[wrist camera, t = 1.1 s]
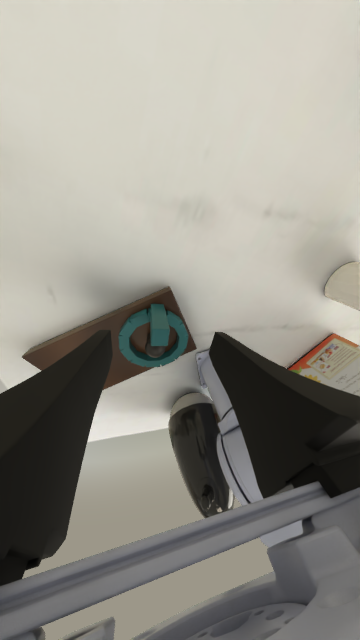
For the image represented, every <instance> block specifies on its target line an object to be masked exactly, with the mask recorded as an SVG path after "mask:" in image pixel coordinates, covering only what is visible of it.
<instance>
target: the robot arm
mask: <svg viewBox="0 0 360 640" xmlns="http://www.w3.org/2000/svg"><path fill="white" fill-rule="evenodd" d="M112 357H113V351H112V340H111V330H99V331H97V332H96V333H95V334H94V335H92V336H91V337H90V338H88V339H87V340H86V341H85V342H83V343H82V344H81V345H79V346H78V347H77V348H75V349H74V350H73V351H71V352H70V353H68V354H67V355H65V356H64V357H62V358H61V359H59V360H58V361H57V362H55V363H54V364H52V365H50V366H49V367H47V368H46V369H44V370H42V371H41V372H39V373H37V374H36V375H34V376H32V377H31V378H29V379H27V380H25V381H24V382H22V383H20V384H18V385H16V386H14V387H12V388H10V389H8V390H7V391H5V392H3V393H1V394H0V640H45V632H44V630H43V629H42V627H40V626H43V625H45V624H48V623H50V622H53V621H55V620H58V619H60V618H63V617H65V616H68V615H70V614H72V613H75V612H77V611H80V610H82V609H85V608H87V607H90V606H92V605H94V604H97V603H99V602H102V601H104V600H106V599H109V598H112V597H114V596H116V595H119V594H121V593H124V592H126V591H129V590H131V589H134V588H136V587H138V586H141V585H143V584H146V583H148V582H151V581H153V580H155V579H158V578H160V577H163V576H165V575H168V574H170V573H173V572H175V571H178V570H180V569H182V568H185V567H187V566H190V565H192V564H195V563H197V562H200V561H202V560H204V559H207V558H209V557H212V556H214V555H217V554H219V553H221V552H224V551H227V550H229V549H231V548H234V547H236V546H239V545H241V544H244V543H246V542H248V541H251V540H253V539H256V538H258V537H260V539H261V541H262V542H263V543H264V544H265V545H266V546H267V547H269V548H268V549H267V554H268V556H269V559H270V562H271V564H272V567H273V569H274V571H273V572H271V573H269V574H266V575H264V576H261V577H259V578H257V579H254V580H252V581H250V582H247V583H245V584H243V585H240V586H238V587H235V588H233V589H231V590H229V591H226V592H224V593H221V594H219V595H217V596H215V597H212V598H210V599H208V600H206V601H203V602H201V603H199V604H197V605H195V606H193V607H191V608H189V609H187V610H185V611H182V612H180V613H178V614H176V615H174V616H173V617H171V618H169V619H167V620H165V621H163V622H161V623H159V624H157V625H156V626H154V627H152V628H150V629H148V630H146V631H145V632H143V633H141V634H139V635H137V636H135V637H134V638H132V639H130V640H360V396H357V395H354V394H351V393H348V392H345V391H342V390H339V389H336V388H333V387H330V386H327V385H325V384H322V383H319V382H317V381H314V380H312V379H309V378H307V377H304V376H302V375H300V374H297V373H295V372H293V371H290V370H288V369H286V368H284V367H282V366H280V365H278V364H276V363H274V362H272V361H270V360H268V359H266V358H265V357H263V356H261V355H259V354H258V353H256V352H254V351H253V350H251V349H249V348H248V347H246V346H245V345H243V344H241V343H240V342H238V341H237V340H235V339H234V338H232V337H230V336H229V335H227V334H225V333H223V332H215V335H214V338H213V341H212V344H211V347H210V350H208V351H204V352H201V353H198V354H196V361H197V366H198V371H199V376H200V382H201V386H202V388H208V390H209V393H210V395H211V398H212V400H213V403H214V405H215V408H216V410H217V413H218V415H219V417H220V419H221V421H220V422H219V423H218V426H219V429H220V431H221V432H220V433H219V434H218V435H217V454H218V458H219V462H220V465H221V468H222V471H223V474H224V476H225V479H226V481H227V483H228V485H229V487H230V489H231V491H232V493H233V494H234V496H235V497H236V498H237V500H238V501H239V502H240V503H241V505H242V506H241V507H238V508H235V509H232V510H229V511H226V512H223V513H220V514H217V515H214V516H211V517H208V518H205V519H202V520H199V521H196V522H193V523H190V524H187V525H184V526H181V527H178V528H175V529H172V530H169V531H165V532H162V533H159V534H156V535H153V536H150V537H147V538H144V539H141V540H138V541H135V542H132V543H129V544H126V545H123V546H120V547H117V548H114V549H111V550H108V551H105V552H102V553H99V554H96V555H93V556H90V557H87V558H84V559H81V560H78V561H75V562H72V563H69V564H66V565H63V566H60V567H57V568H54V569H51V570H48V571H45V572H42V573H39V574H36V575H33V576H30V577H27V578H24V579H22V577H23V574H24V572H25V570H28V569H31V568H34V567H37V566H39V564H40V562H41V560H42V559H45V558H48V557H51V556H53V555H54V554H55V553H56V551H57V550H58V549H59V547H60V546H61V545H62V543H63V542H64V540H65V539H66V535H67V530H68V525H69V520H70V515H71V511H72V506H73V501H74V496H75V492H76V487H77V483H78V478H79V474H80V470H81V465H82V461H83V457H84V453H85V448H86V444H87V440H88V436H89V432H90V428H91V424H92V420H93V417H94V413H95V410H96V407H97V404H98V401H99V398H100V395H101V393H102V390H103V387H104V384H105V382H106V379H107V376H108V373H109V370H110V366H111V362H112ZM114 628H115V620H114V618H113V617H110V618H107V619H105V620H102V621H100V622H97V623H94V624H92V625H89V626H86V627H84V628H82V629H79V630H77V631H75V632H73V633H71V634H68V635H66V636H64V637H63V638H61V639H59V640H113V639H114Z"/></svg>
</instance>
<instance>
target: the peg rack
mask: <svg viewBox="0 0 360 640" xmlns="http://www.w3.org/2000/svg"><path fill="white" fill-rule="evenodd" d="M151 304H164V308H165V310H166V311H167V310H169V311H170V312H172V313H174V314H175V315H177V316H178V317H180V319H182V322H183V324H184V326H185V328H186V330H187V333H188V342H187V346H186V349H185V351H184V352H183V353H182V354H181V355H180V356H182V355H184V354H186V353H188V352H191V351H193V350H195V349H197V348H196V345H195V343H194V341H193V339H192V336H191V334H190V332H189V329H188V327H187V325H186V323H185V320H184V318H183V316H182V313H181V311H180V309H179V307H178V304H177V302H176V300H175V297H174V295H173V293H172V291H171V288H170V287H167V288H164V289H162V290H160V291H158V292H155V293H153V294H151V295H149V296H147V297H144V298H142V299H140V300H138V301H135V302H133V303H131V304H129V305H127V306H124V307H122V308H120V309H118V310H115V311H113V312H111V313H109V314H107V315H104V316H102V317H100V318H98V319H95V320H93V321H91V322H89V323H87V324H84V325H82V326H80V327H78V328H75V329H73V330H71V331H69V332H67V333H64V334H62V335H60V336H58V337H55V338H53V339H51V340H49V341H47V342H44V343H42V344H40V345H38V346H35V347H33V348H31V349H30V350H28V351H27V352H26V353H25V354H24V355H23V356H22V358H23V359H25V360H26V361H28V362H29V363H31V364H32V365H34V366H35V367H37V368H38V369H40V370H41V371H42V370H44V369H46V368H47V367H49V366H50V365H52V364H54V363H55V362H57V361H58V360H59V359H61V358H62V357H64V356H65V355H67V354H68V353H70V352H71V351H73V350H74V349H75V348H77V347H78V346H79V345H81V344H82V343H83V342H85V341H86V340H87V339H88V338H90V337H91V336H92V335H94V334H95V333H96V332H97V331H99V330H111V340H112V351H113V357H112V362H111V366H110V370H109V373H108V376H107V379H106V382H105V384H104V387H103V390H104V389H106V388H108V387H111V386H113V385H115V384H118V383H120V382H122V381H124V380H127V379H129V378H131V377H134V376H136V375H138V374H140V373H143V372H145V371H147V370H150V369H152V368H154V367H146V365H145V366H144V367H142V366H140V365H137V364H134V363H131V361H128V360H127V358H126V357H125V356H124V355H123V354H122V353H121V352H120V350H121V349H119V333H120V330H121V328H122V326H123V325H124V323H125V322H126V320H127V319H128V317H131V315H133V314H135V313H137V312H139V311H142V310H144V309H147V311H148V308H151ZM169 328H170V332H169V340H168V345H167V346H151V335H150V322H148V323H146V324H143V325H141V326H139V327H137V328H136V329H135V330H134V332H133V333H132V335H131V344H132V345H133V346H134V347H135V349H136V350H137V351H139V352H141V353H144V354H146V355H149V356H150V357H153V358H157V357H160V356H161V355H162V354H163V353H164V352H167V351H169V350H170V349H171V348H172V347H173V345H174V344H175V343H176V340H177V335H178V334H177V332H176V330H175V328H173V327H171V326H170V325H169Z"/></svg>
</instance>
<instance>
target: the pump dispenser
mask: <svg viewBox="0 0 360 640" xmlns="http://www.w3.org/2000/svg"><path fill="white" fill-rule="evenodd" d="M220 421H221V419H220V417H219V415H218V413H217V410H216V408H215V405H214V403H213V401H212V400H211V399H210V398H209V397H208V396H206V395H204V394H201V393H189V394H186V395H184V396H182V397H181V398H179V399H178V400H177V401H176V403H175V404H174V406H173V408H172V410H171V414H170V420H169V424H168V426H169V433H170V438H171V442H172V446H173V450H174V453H175V457H176V460H177V463H178V466H179V469H180V472H181V475H182V478H183V480H184V483H185V485H186V488H187V490H188V492H189V495H190V496H191V498H192V501H193V502H194V504H195V506H196V507H197V509H198V510H199V512H200V514H201V515H202V516H203V517H204V518H208V517H211V516H214V515H217V514H220V513H223V512H226V511H229V510H232V509H233V507H234V500H235V496H234V494H233V493H232V491H231V489H230V487H229V485H228V483H227V481H226V479H225V476H224V474H223V471H222V468H221V465H220V462H219V458H218V454H217V435H218V434H219V433H220V432H221V431H220V429H219V426H218V423H219V422H220Z"/></svg>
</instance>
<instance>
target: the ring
mask: <svg viewBox="0 0 360 640" xmlns="http://www.w3.org/2000/svg"><path fill="white" fill-rule="evenodd" d="M148 322H150V335H151V346H167V345H168V340H169V332H170V328H169V325H170V326H171V327H173V328H175V330H176V332H177V334H178V335H177V340H176V343H175V344H174V345H173V347H172V348H171V349H170V350H169V351H167V352H164V353H163V354H162V355H161V356H160V357H157V358H153V357H150V356H149V355H146V354H144V353H141V352H139V351H137V350H136V349H135V347H134V346H133V345H132V344H131V335H132V333H133V332H134V330H135V329H136V328H137V327H139V326H141V325H143V324H146V323H148ZM187 342H188V333H187V330H186V328H185V326H184V324H183V322H182V319H180V317H178V316H177V315H175V314H174V313H172V312H170V311H169V310H167V311H166V310H165V308H164V304H151V308H148V311H147V309H144V310H142V311H139V312H137V313H135V314H133V315H131V317H128V319H127V320H126V322H125V323H124V325H123V326H122V328H121V330H120V333H119V349H121V350H120V352H121V353H122V354H123V355H124V356H125V357H126V358H127V360H128V361H131V363H134V364H137V365H140V366H142V367H144V366H145V365H146V367H160V365H162V366H164V365H166V364H168V363H171V362H173V361H175V359H177V358H178V357H179V356H180V355H181V354H182V353H183V352H184V351H185V349H186V346H187Z"/></svg>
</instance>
